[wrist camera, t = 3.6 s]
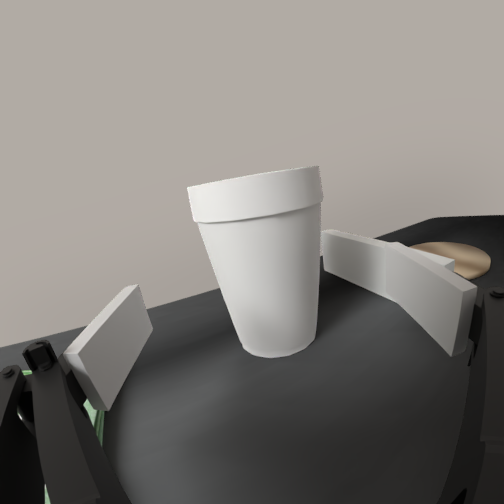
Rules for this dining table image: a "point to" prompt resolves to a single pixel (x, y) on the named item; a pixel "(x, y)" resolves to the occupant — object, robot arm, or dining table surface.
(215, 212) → the foam cup
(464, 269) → the cork coaster
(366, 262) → the low wall
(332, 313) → the dining table surface
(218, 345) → the dining table surface
